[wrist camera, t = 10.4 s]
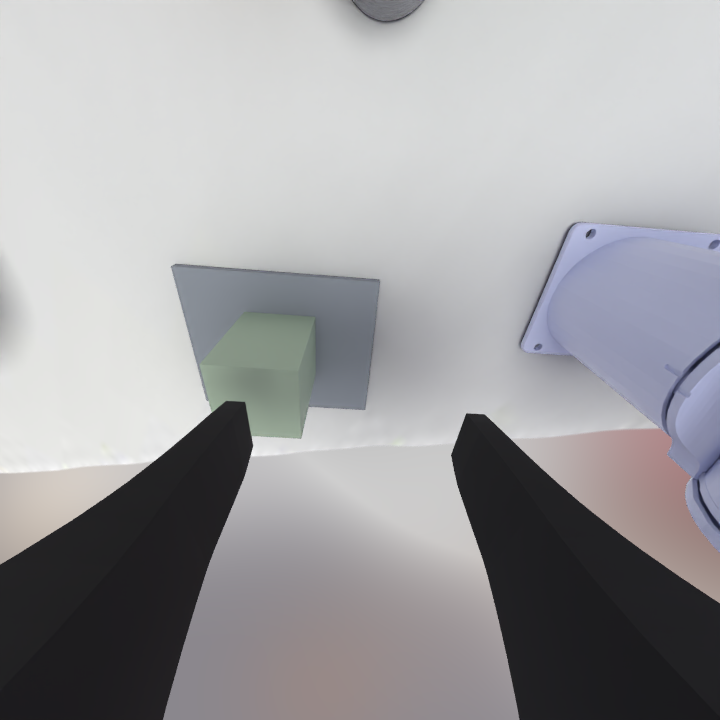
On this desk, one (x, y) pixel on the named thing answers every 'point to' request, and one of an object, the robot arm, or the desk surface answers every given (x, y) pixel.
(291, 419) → the green block
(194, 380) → the desk surface
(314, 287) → the mat
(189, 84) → the desk surface
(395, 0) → the metal cylinder
